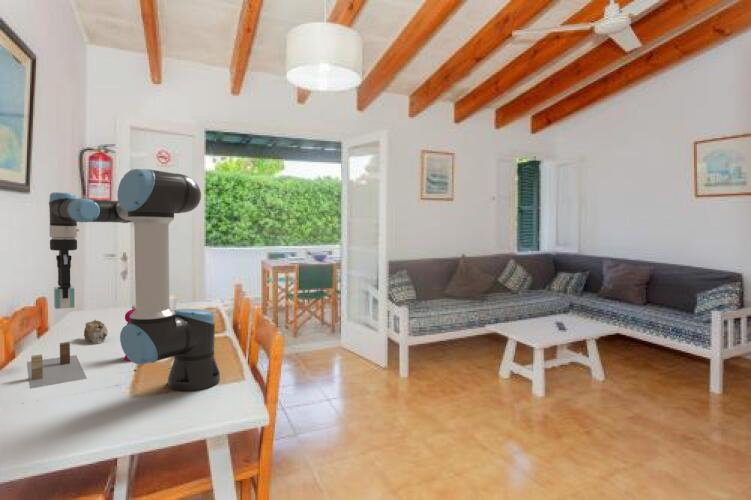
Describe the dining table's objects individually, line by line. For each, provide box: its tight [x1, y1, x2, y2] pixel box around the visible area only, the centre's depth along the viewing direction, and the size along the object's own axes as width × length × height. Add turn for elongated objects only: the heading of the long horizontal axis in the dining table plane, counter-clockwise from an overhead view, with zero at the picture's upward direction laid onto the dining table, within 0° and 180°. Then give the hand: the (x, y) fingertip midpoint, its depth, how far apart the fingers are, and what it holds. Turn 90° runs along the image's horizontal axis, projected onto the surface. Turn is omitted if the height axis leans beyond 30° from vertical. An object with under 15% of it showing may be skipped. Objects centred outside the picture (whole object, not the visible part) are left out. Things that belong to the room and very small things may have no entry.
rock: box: [83, 319, 108, 345], centre depth 179 cm, size 12×7×10 cm, turn 47°
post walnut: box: [59, 341, 71, 365], centre depth 148 cm, size 3×3×7 cm
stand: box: [26, 354, 88, 389], centre depth 142 cm, size 30×14×1 cm, turn 40°
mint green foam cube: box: [53, 285, 75, 310], centre depth 147 cm, size 5×5×7 cm
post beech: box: [30, 354, 43, 380], centre depth 134 cm, size 3×3×7 cm
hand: (64, 306), depth 148 cm, fingers closed on mint green foam cube, 5 cm apart
